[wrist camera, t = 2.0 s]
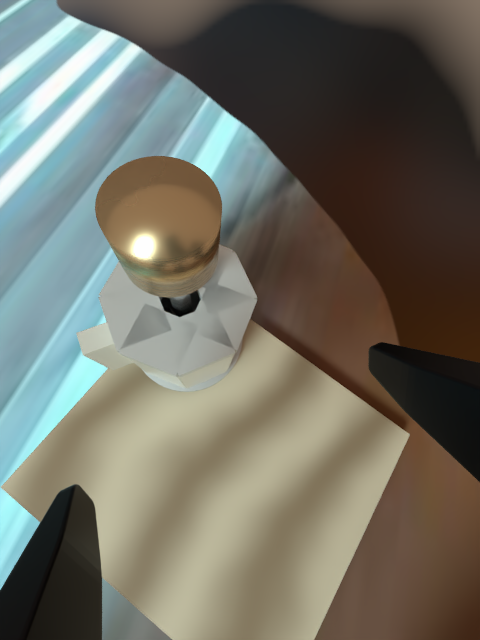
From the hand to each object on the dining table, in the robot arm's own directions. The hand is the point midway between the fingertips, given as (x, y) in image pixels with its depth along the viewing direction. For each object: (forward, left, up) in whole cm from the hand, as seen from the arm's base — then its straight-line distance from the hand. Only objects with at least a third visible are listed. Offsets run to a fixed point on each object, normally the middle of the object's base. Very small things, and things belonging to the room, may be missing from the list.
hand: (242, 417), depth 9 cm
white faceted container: (+6, -2, -13) cm, 14 cm away
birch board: (-2, +2, -14) cm, 14 cm away
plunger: (+5, -3, -7) cm, 10 cm away
